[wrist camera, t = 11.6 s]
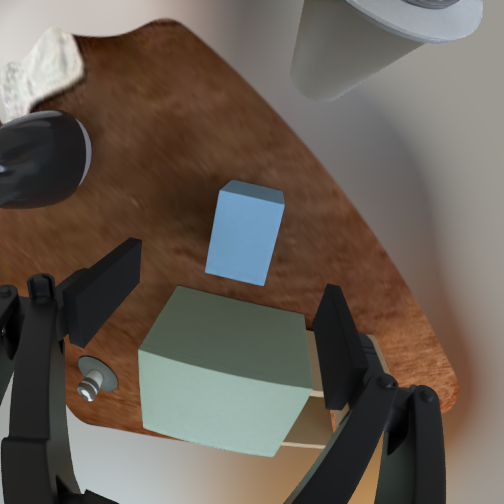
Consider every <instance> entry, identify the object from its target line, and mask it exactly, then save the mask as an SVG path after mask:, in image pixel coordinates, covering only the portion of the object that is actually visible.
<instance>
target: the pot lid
mask: <svg viewBox="0 0 504 504" xmlns="http://www.w3.org/2000/svg"><path fill="white" fill-rule="evenodd" d="M78 366H79V369H80V372H81V373H82V375H83V376H84V377H85V378H84V379H83V380H82V381H81V383H79V384H78V387H77V391H78V393H79V394H80V395H81V396H82V397H83V398H85V399H86V400H89V401H93V399H94V398H95V397H96V396H97V393H98V391H99V388H100V389H102V390H105V391H113V390H115V389H116V388H117V386H118V380H117V378H116V376H115V374H114V373H113V372H112V370H111V369H110V368H109V367H108V366H106V365H105V364H104V363H102V362H101V361H99V360H97V359H95V358H92V357H81V358H80V359H79V361H78Z"/></svg>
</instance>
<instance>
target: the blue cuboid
mask: <svg viewBox="0 0 504 504" xmlns="http://www.w3.org/2000/svg"><path fill="white" fill-rule="evenodd" d="M284 206H285V204H284V197H283V191H280V190H276V189H272V188H268V187H263V186H259V185H255V184H250V183H246V182H241V181H236V180H231V181H230V182H229V183H228V184H226V185H225V186H224V187H223V188H222V189H221V190H220V191H219V196H218V201H217V207H216V212H215V217H214V223H213V228H212V234H211V239H210V245H209V251H208V257H207V263H206V269H205V273H209V274H214V275H218V276H222V277H226V278H230V279H235V280H239V281H243V282H248V283H252V284H256V285H261V286H264V283H265V279H266V275H267V272H268V268H269V264H270V260H271V257H272V253H273V249H274V245H275V241H276V237H277V234H278V230H279V226H280V222H281V218H282V214H283V210H284Z"/></svg>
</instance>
